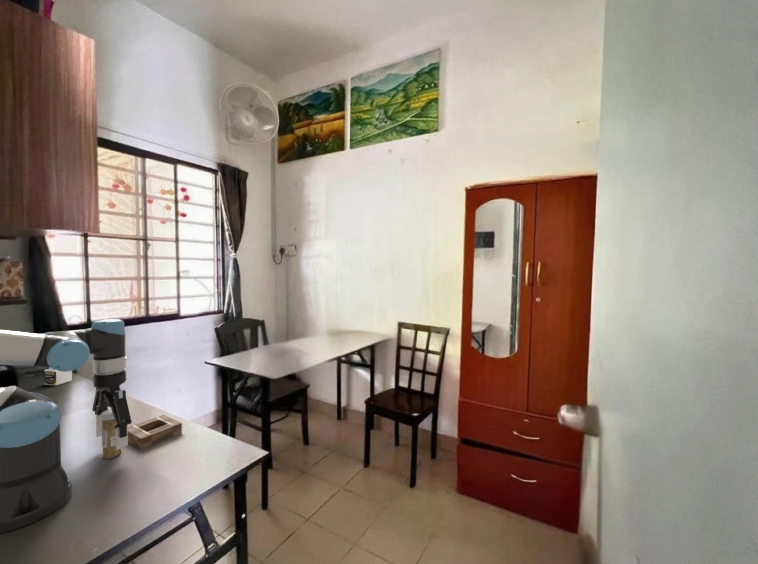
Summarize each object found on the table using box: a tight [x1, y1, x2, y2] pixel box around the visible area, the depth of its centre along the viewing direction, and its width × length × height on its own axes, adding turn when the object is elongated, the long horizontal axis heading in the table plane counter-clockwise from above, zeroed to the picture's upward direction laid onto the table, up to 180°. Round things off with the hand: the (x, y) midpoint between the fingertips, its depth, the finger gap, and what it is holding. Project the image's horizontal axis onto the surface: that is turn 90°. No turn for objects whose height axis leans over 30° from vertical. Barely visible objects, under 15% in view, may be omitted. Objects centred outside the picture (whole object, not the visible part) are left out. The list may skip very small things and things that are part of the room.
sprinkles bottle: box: [101, 408, 122, 459], centre depth 97 cm, size 5×5×13 cm
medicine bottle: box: [43, 368, 73, 386], centre depth 159 cm, size 7×7×12 cm
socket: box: [128, 414, 183, 451], centre depth 108 cm, size 12×12×4 cm
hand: (111, 440), depth 97 cm, fingers open, 13 cm apart
